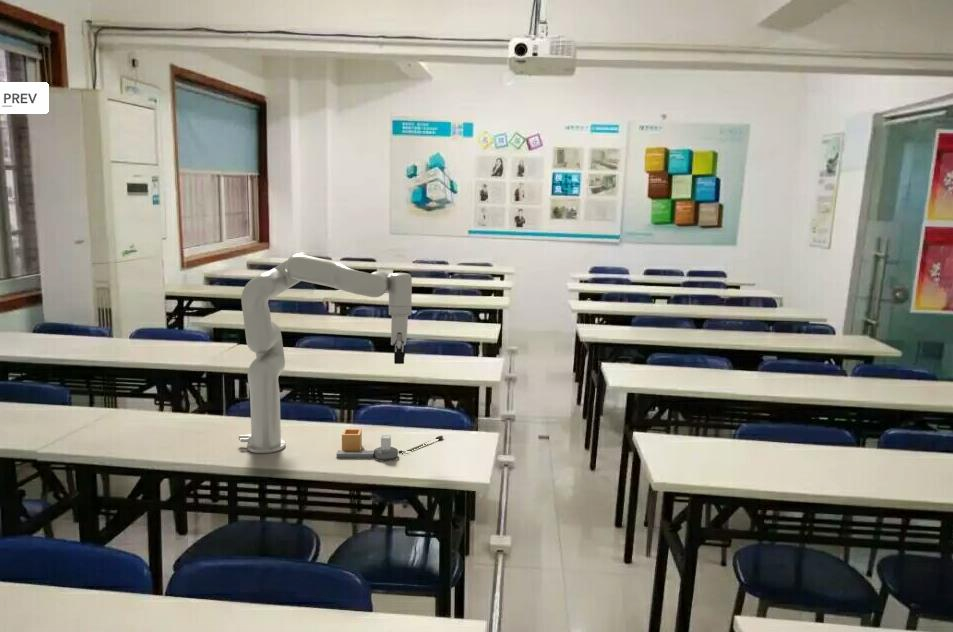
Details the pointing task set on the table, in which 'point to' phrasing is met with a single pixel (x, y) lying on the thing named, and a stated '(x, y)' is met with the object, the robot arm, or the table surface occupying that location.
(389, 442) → the ratchet
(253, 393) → the robot arm
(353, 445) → the socket
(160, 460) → the table surface
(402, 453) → the tomahawk
